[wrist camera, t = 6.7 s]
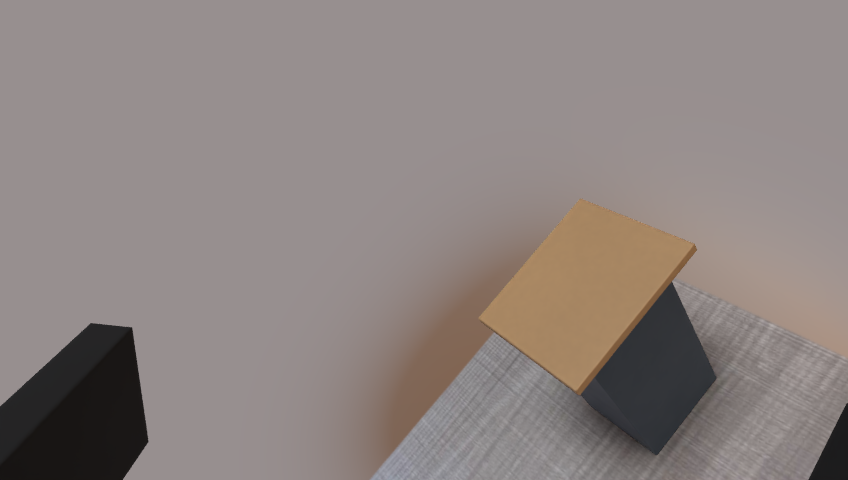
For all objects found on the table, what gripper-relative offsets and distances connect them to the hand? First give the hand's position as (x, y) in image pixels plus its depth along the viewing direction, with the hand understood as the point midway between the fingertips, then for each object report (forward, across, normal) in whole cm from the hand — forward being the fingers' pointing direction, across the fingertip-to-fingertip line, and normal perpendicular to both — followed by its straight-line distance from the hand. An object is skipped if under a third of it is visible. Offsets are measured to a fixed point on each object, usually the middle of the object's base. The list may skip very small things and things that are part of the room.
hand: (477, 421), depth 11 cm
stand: (+26, +16, -19) cm, 36 cm away
